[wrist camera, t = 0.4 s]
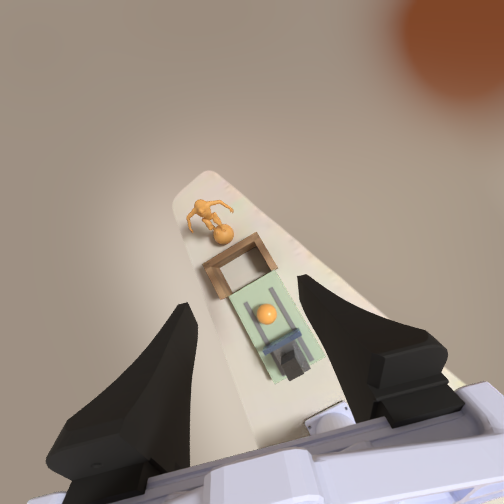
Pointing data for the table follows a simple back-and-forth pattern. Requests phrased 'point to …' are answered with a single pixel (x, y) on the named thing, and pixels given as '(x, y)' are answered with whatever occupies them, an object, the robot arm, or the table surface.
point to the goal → (230, 254)
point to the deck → (287, 320)
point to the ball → (266, 314)
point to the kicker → (289, 354)
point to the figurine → (222, 231)
